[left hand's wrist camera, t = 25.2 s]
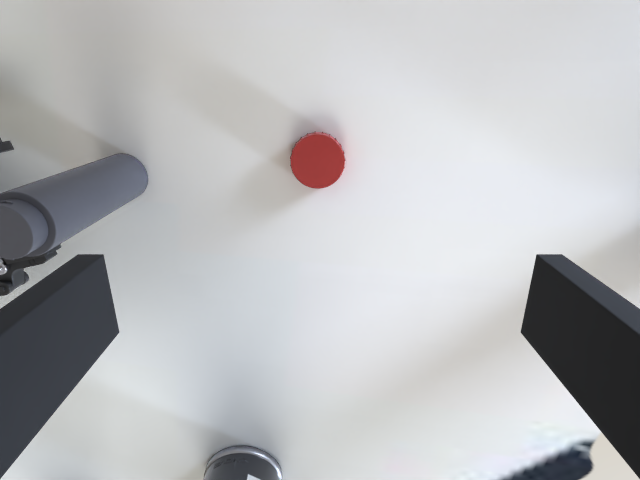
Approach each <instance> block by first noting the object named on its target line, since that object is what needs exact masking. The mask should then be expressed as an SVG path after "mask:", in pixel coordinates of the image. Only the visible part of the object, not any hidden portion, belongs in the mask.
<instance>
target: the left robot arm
mask: <svg viewBox="0 0 640 480" xmlns="http://www.w3.org/2000/svg"><path fill="white" fill-rule="evenodd" d="M118 333H119V329H118V324H117V319H116V314H115V309H114V304H113V299H112V294H111V289H110V285H109V280H108V275H107V270H106V265H105V260H104V255H77V256H75V257H74V258H72V259H71V260H70V261H68V262H67V263H65V264H64V265H62V266H61V267H60V268H58V269H57V270H55V271H54V272H52V273H51V274H50V275H48V276H47V277H45V278H44V279H42V280H41V281H40V282H38V283H37V284H35V285H34V286H32V287H31V288H30V289H28V290H27V291H25V292H24V293H22V294H21V295H20V296H18V297H17V298H15V299H14V300H12V301H11V302H10V303H8V304H7V305H5V306H4V307H2V308H1V309H0V479H1V477H2V476H3V475H4V474H5V472H6V471H7V470H8V469H9V467H10V466H11V465H12V464H13V463H14V461H15V460H16V459H17V458H18V456H19V455H20V454H21V453H22V451H23V450H24V449H25V448H26V447H27V445H28V444H29V443H30V442H31V440H32V439H33V438H34V437H35V435H36V434H37V433H38V432H39V431H40V429H41V428H42V427H43V426H44V424H45V423H46V422H47V421H48V419H49V418H50V417H51V416H52V415H53V413H54V412H55V411H56V410H57V408H58V407H59V406H60V405H61V403H62V402H63V401H64V400H65V399H66V397H67V396H68V395H69V394H70V392H71V391H72V390H73V389H74V387H75V386H76V385H77V384H78V382H79V381H80V380H81V379H82V378H83V376H84V375H85V374H86V373H87V371H88V370H89V369H90V368H91V366H92V365H93V364H94V363H95V362H96V360H97V359H98V358H99V357H100V355H101V354H102V353H103V352H104V350H105V349H106V348H107V347H108V346H109V344H110V343H111V342H112V341H113V339H114V338H115V337H116V336H117V334H118ZM521 333H522V334H523V336H524V337H525V338H526V339H527V341H528V342H529V343H530V344H531V346H532V347H533V348H534V349H535V350H536V352H537V353H538V354H539V355H540V357H541V358H542V359H543V360H544V362H545V363H546V364H547V365H548V366H549V368H550V369H551V370H552V371H553V373H554V374H555V375H556V376H557V378H558V379H559V380H560V381H561V382H562V384H563V385H564V386H565V387H566V389H567V390H568V391H569V392H570V394H571V395H572V396H573V397H574V399H575V400H576V401H577V402H578V403H579V405H580V406H581V407H582V408H583V410H584V411H585V412H586V413H587V415H588V416H589V417H590V418H591V419H592V421H593V422H594V423H595V424H596V426H597V427H598V428H599V429H600V431H601V432H602V433H603V434H604V435H605V437H606V438H607V439H608V440H609V442H610V443H611V444H612V445H613V447H614V448H615V449H616V450H617V451H618V453H619V454H620V455H621V456H622V458H623V459H624V460H625V461H626V462H627V464H628V465H629V466H630V467H631V469H632V470H633V471H634V472H635V474H636V475H637V476H638V477H639V478H640V309H639V308H638V307H636V306H635V305H633V304H632V303H630V302H629V301H628V300H626V299H625V298H623V297H622V296H620V295H619V294H618V293H616V292H615V291H613V290H612V289H610V288H609V287H608V286H606V285H605V284H603V283H602V282H600V281H599V280H598V279H596V278H595V277H593V276H592V275H590V274H589V273H588V272H586V271H585V270H583V269H582V268H580V267H579V266H578V265H576V264H575V263H573V262H572V261H570V260H569V259H568V258H566V257H565V256H563V255H536V260H535V265H534V270H533V275H532V280H531V285H530V289H529V294H528V299H527V304H526V309H525V314H524V319H523V324H522V329H521Z"/></svg>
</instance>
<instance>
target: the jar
mask: <svg viewBox="0 0 640 480" xmlns="http://www.w3.org/2000/svg"><path fill="white" fill-rule="evenodd" d="M147 184H148V176H147V172H146V169H145V168H144V166H143V165H142V163H141V162H140V161H139V160H137V159H136V158H135V157H133V156H130V155H127V154H116V155H112V156H110V157H107V158H104V159H101V160H98V161H95V162H92V163H89V164H86V165H83V166H80V167H77V168H74V169H71V170H68V171H65V172H62V173H59V174H56V175H54V176H51V177H48V178H45V179H42V180H39V181H36V182H33V183H30V184H27V185H24V186H21V187H18V188H15V189H12V190H9V191H6V192H3V193H0V257H1V258H4V259H6V260H14V259H18V258H22V257H24V256H28V257H31V256H39V255H42V254H44V253H46V252H47V251H49V250H51V249H52V248H54V247H56V246H57V245H59V244H60V243H62V242H64V241H65V240H67V239H69V238H70V237H72V236H74V235H75V234H77V233H79V232H80V231H82V230H83V229H85V228H87V227H88V226H90V225H92V224H93V223H95V222H97V221H98V220H100V219H101V218H103V217H105V216H106V215H108V214H110V213H111V212H113V211H115V210H116V209H118V208H119V207H121V206H123V205H124V204H126V203H128V202H129V201H131V200H133V199H134V198H136V197H137V196H139V195H141V194H142V193H143V192H144V191H145V189H146V187H147Z"/></svg>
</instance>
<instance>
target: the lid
mask: <svg viewBox="0 0 640 480" xmlns="http://www.w3.org/2000/svg"><path fill="white" fill-rule="evenodd" d="M290 159H291V168H292V171H293V173H294V175H295V177H296V178H297V179H298V180H299V181H300V182H301V183H302V184H304V185H305V186H308V187H311V188H325V187H328V186H330V185H332V184H333V183H335V182H336V181H337V180H338V179H339V177H340V176H341V175H342V172H343V169H344V164H345V158H344V151H342V148H341V144H339V143H338V142H337V140H336V138H335V139H334V138H333V137H332V136H330V134H329V135H328V134H325V133H323V132H322V133H320V132H314V133H310V134H308V133H307V135H305V136H304V137H301V138H300V140H299V141H298V142H296V144H295V147H294V149H292V155H291V157H290Z"/></svg>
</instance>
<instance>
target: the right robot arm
mask: <svg viewBox="0 0 640 480" xmlns="http://www.w3.org/2000/svg"><path fill="white" fill-rule="evenodd" d="M10 150H14V148H13V146H12V144H11V142H10V141H5V142H2V141H1V138H0V153H2V152H6V151H10ZM59 248H61V245H60V244H59V245H57V246H56V247H54V248H52V249H51V250H49V251H47V252H46V253H44V254H42V255H39V256H31V257H28V256H24V257H22V258H18V259H14V260H6V259H4V258H1V257H0V296H3V295H7V294H9V293H10V292H12V291H13V290H14V289H16V288H17V287H19V286H20V285H22V284H24V283H26V282H27V281H28V280H29V276H28V274H27V273H26V272H24V271H23V268H26V267H30V266H35V265H39V264H43V263H45V262H46V261H48V260H49V259H51V258H53V257H54V256H55V255H57V253H56V250H58V249H59ZM204 480H282V472H281V468H280V466H279V464H278V463H277V461H276V460H275V459H274V458H273V457H272V456H271V455H269V454H268V453H266V452H264V451H262V450H260V449H257V448H253V447H248V446H235V447H230V448H226V449H224V450H221V451H219V452H218V453H216V454H215V455H214V456H213V457H212V458H211V459H210V461H209V462H208V464H207V467H206V471H205V474H204Z"/></svg>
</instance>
